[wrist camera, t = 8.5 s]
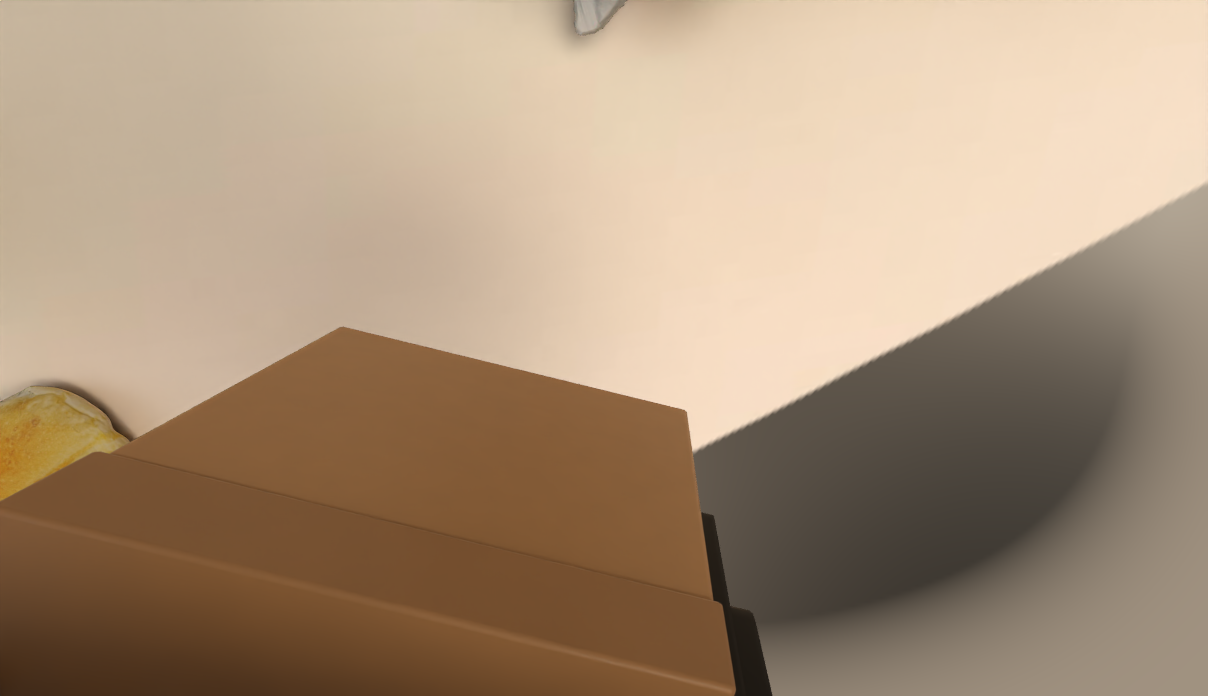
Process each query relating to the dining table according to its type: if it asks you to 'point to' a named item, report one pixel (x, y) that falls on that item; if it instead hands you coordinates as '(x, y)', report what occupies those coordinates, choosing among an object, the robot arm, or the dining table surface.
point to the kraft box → (371, 542)
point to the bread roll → (48, 435)
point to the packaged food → (594, 14)
